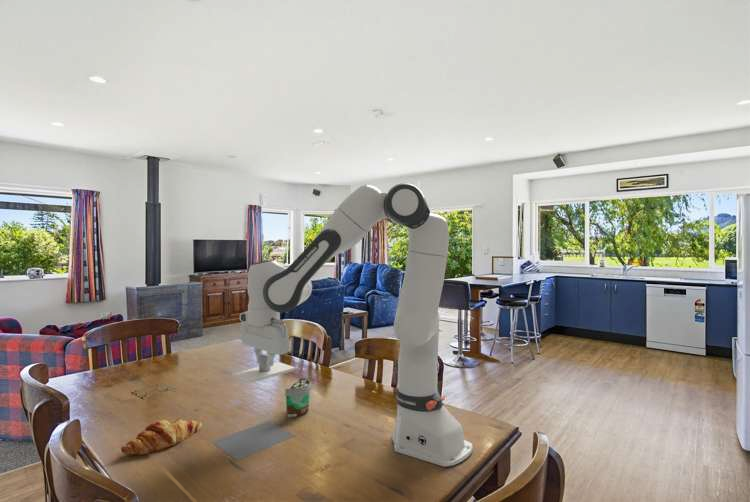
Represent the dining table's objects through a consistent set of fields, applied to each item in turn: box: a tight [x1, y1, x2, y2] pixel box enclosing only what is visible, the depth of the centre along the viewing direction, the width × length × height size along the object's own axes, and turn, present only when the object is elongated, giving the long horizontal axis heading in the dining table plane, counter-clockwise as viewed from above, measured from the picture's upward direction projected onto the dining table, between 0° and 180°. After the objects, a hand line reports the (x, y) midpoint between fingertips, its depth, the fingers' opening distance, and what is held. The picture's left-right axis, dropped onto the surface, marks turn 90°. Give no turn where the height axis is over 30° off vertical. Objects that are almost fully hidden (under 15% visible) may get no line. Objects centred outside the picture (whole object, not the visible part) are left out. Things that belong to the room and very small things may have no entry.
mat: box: [211, 420, 296, 461], centre depth 113 cm, size 14×18×1 cm
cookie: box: [131, 383, 177, 399], centre depth 151 cm, size 12×12×1 cm
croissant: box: [120, 418, 203, 456], centre depth 111 cm, size 21×10×8 cm, turn 142°
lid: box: [232, 353, 297, 384], centre depth 115 cm, size 9×15×5 cm, turn 137°
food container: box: [284, 376, 313, 419], centre depth 131 cm, size 12×6×10 cm, turn 168°
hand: (264, 364), depth 116 cm, fingers closed on lid, 3 cm apart
